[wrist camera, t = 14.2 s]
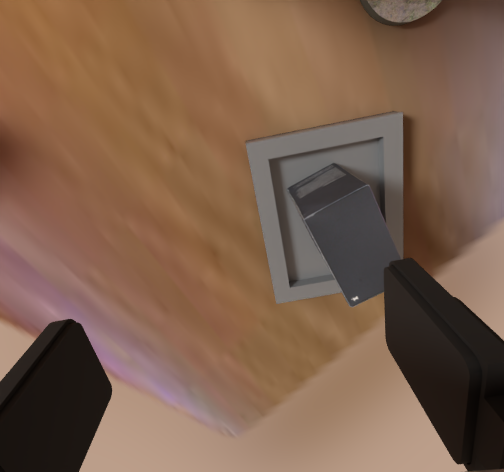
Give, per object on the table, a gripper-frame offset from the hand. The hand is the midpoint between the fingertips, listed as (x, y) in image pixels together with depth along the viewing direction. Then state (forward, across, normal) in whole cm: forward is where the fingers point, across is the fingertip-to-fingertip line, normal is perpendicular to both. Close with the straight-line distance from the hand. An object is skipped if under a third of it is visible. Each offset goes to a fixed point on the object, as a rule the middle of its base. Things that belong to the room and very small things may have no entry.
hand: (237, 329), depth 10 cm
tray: (+28, -9, +8) cm, 31 cm away
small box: (+28, -9, +8) cm, 30 cm away
